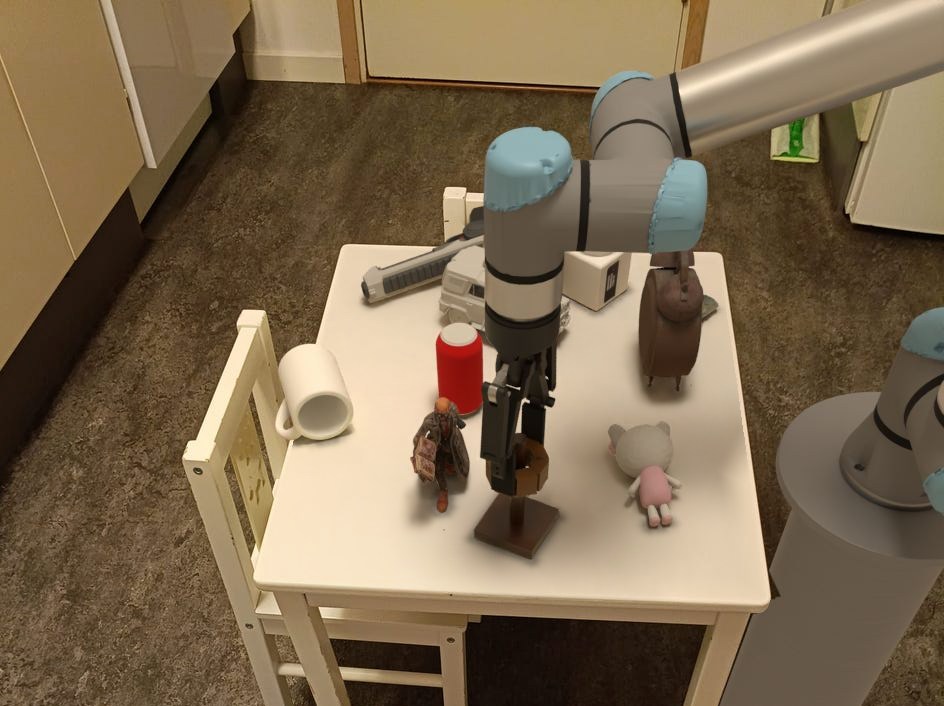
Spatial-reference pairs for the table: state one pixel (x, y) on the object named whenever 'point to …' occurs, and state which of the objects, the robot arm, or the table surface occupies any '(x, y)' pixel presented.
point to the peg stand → (517, 516)
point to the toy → (647, 465)
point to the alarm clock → (670, 316)
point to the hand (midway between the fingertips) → (517, 469)
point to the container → (595, 276)
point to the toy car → (473, 290)
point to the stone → (708, 305)
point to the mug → (312, 394)
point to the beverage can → (460, 366)
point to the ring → (529, 471)
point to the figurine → (441, 448)
